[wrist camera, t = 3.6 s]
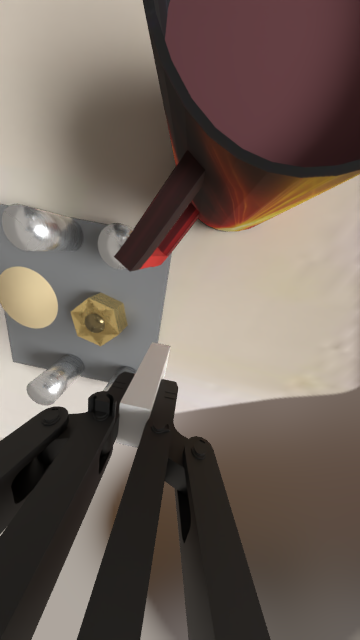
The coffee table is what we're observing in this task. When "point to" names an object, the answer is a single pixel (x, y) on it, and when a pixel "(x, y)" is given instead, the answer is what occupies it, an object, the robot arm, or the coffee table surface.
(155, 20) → the mug
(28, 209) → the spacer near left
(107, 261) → the spacer near right
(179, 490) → the robot arm
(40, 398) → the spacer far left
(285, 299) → the coffee table surface
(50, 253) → the mat
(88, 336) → the nut
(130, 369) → the spacer far right
